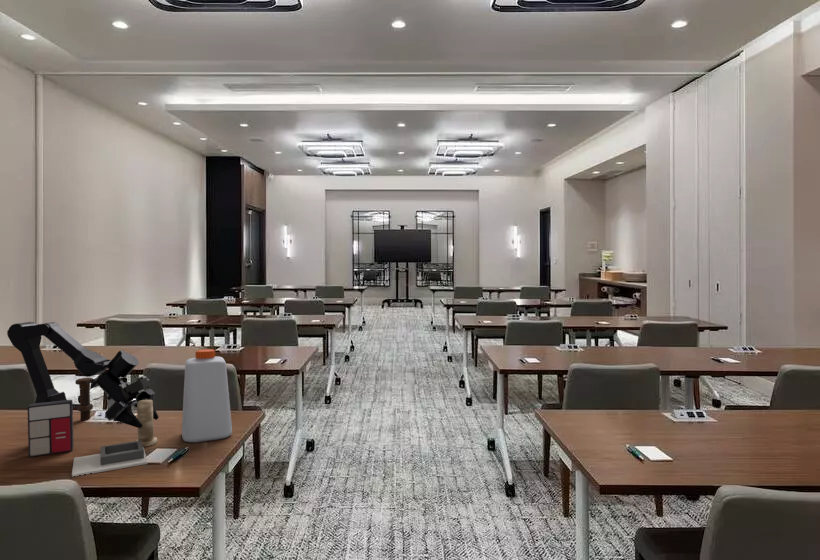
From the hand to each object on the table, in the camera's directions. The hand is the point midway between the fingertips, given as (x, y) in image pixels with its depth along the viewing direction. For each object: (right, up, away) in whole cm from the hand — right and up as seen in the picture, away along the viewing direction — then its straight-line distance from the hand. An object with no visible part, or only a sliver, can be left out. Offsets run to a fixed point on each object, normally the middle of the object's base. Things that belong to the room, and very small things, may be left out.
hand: (149, 422), depth 169 cm
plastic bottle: (+15, -7, +8) cm, 18 cm away
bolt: (-38, -7, +29) cm, 48 cm away
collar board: (-4, -7, -16) cm, 17 cm away
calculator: (-26, -7, -7) cm, 28 cm away
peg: (-1, -7, 0) cm, 7 cm away
